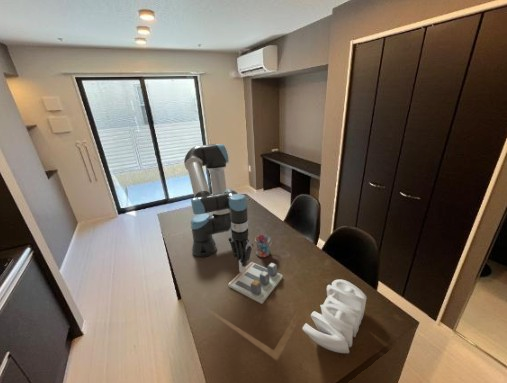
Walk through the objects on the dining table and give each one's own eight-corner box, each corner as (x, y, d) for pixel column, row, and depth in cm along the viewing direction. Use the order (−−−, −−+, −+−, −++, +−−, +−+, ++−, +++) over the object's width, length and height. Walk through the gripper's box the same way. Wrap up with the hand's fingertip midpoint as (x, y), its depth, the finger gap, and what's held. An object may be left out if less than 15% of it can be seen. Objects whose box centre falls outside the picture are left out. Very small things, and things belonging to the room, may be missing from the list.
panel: (228, 286, 115) (227, 274, 112) (251, 264, 130) (250, 253, 127) (261, 304, 104) (261, 291, 101) (282, 277, 119) (282, 266, 116)
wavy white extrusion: (339, 373, 76) (342, 352, 72) (296, 342, 86) (297, 322, 83) (371, 306, 100) (375, 288, 96) (335, 288, 110) (337, 271, 107)
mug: (259, 260, 133) (259, 245, 129) (252, 252, 141) (252, 237, 137) (277, 254, 138) (277, 239, 134) (269, 246, 146) (269, 232, 142)
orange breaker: (251, 292, 108) (250, 283, 106) (255, 287, 110) (255, 278, 108) (257, 295, 106) (256, 286, 104) (261, 290, 108) (261, 281, 106)
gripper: (223, 228, 101) (227, 269, 110) (246, 236, 94) (248, 280, 103) (233, 220, 107) (236, 261, 116) (256, 228, 100) (257, 270, 109)
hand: (242, 270), depth 110 cm, fingers closed
